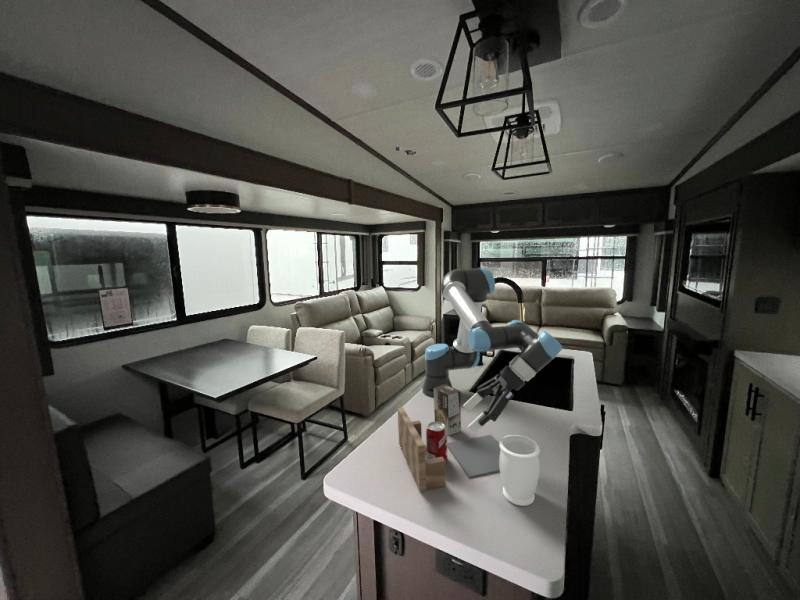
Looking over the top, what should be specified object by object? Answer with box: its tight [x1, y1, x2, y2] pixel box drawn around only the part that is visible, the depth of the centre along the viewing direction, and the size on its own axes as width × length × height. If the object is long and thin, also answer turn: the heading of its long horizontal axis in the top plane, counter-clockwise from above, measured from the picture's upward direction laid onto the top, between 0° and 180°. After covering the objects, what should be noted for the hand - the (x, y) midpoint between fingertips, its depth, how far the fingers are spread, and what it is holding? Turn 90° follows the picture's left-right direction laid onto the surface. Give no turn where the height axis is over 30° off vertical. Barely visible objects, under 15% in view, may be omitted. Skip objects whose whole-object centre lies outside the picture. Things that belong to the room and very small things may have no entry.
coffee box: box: [433, 384, 462, 436], centre depth 121 cm, size 9×6×16 cm
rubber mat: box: [447, 434, 501, 479], centre depth 104 cm, size 18×18×1 cm
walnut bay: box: [397, 407, 447, 493], centre depth 100 cm, size 24×8×14 cm, turn 14°
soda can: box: [425, 421, 448, 463], centre depth 102 cm, size 7×7×12 cm
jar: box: [498, 434, 541, 507], centre depth 85 cm, size 11×10×15 cm
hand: (468, 418), depth 100 cm, fingers open, 13 cm apart
